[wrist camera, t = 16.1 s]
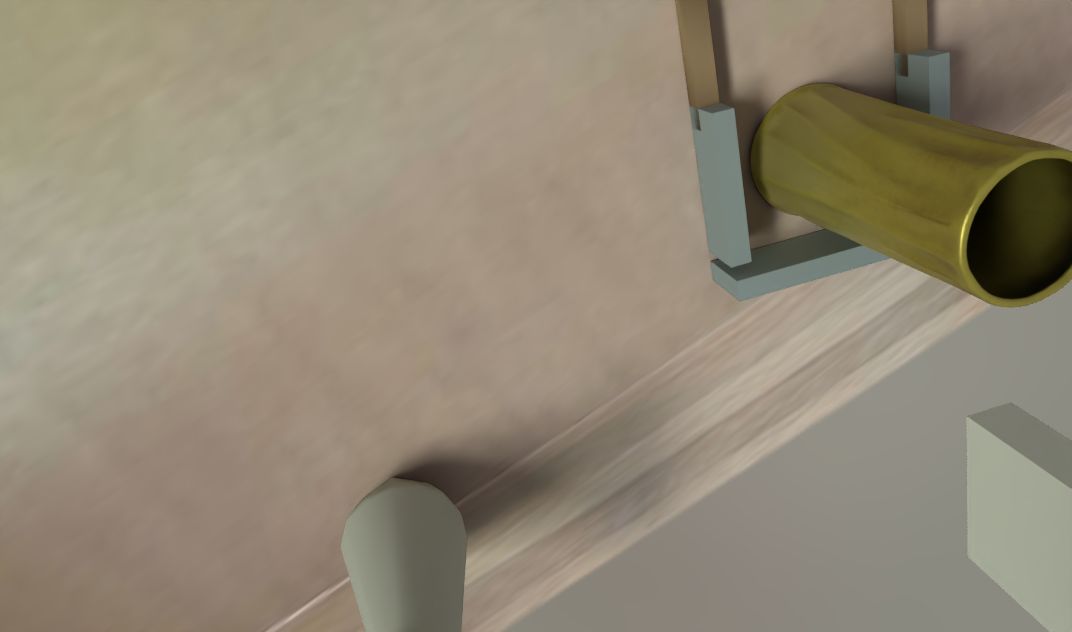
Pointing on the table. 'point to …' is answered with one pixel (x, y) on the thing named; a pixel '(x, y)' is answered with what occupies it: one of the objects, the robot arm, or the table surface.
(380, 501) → the salt shaker
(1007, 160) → the vase
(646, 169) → the table surface
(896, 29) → the channel
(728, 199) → the socket
